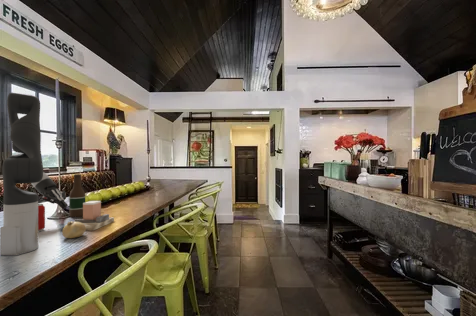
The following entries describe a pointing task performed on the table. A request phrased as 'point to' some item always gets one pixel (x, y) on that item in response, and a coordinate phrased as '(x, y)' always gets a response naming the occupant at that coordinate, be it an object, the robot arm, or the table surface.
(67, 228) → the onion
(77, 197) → the beer bottle
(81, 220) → the console
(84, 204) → the pink box
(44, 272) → the table surface
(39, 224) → the beverage can
